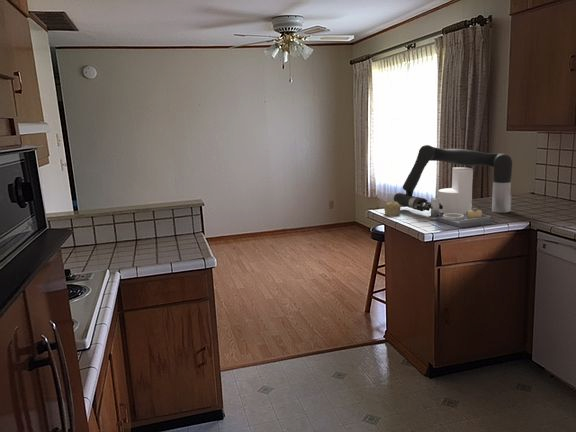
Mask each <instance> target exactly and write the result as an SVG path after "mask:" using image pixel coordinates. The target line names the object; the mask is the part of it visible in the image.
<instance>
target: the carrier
mask: <svg viewBox="0 0 576 432" xmlns="http://www.w3.org/2000/svg"><path fill="white" fill-rule="evenodd" d="M438 222H441V223H444V224H447V225H452V226H455V227H457V228H465V227H474V226H479V225H486V224H487V225H488V224H492V222H493V215H487V214H484V213H483V211H482V210H481V209H478V207H472V208H471V210H468V211H467V213H466V214H457V213H448V214H443V213H442V216H441V217H438Z"/></svg>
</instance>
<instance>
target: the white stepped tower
mask: <svg viewBox="0 0 576 432" xmlns="http://www.w3.org/2000/svg"><path fill="white" fill-rule="evenodd" d="M451 170H452V171H451V172H452V173H451V175H452V176H451V187H448V188H447V187H446V188H440V189H438V191H437V192H438V193H437V195H438V196H437V198H438V199H439V203H441V205H443V209H439V214H442V215H443V214H448V213H457V214H466V213H467V211H468V210H472V208H473V207H472V206H473V205H472V202H473V201H472V200H473V179H474V178H473V176H474V175H473V173H474V168H470V167H461V166H460V167H457V166H456V167H452V169H451Z"/></svg>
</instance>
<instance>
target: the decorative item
mask: <svg viewBox="0 0 576 432" xmlns="http://www.w3.org/2000/svg"><path fill="white" fill-rule="evenodd" d="M401 208H402V206H401V205H400V204H399V203H398V202H396V201H394V200H393V201H388V202H386V203H385V205H384V208H383V209H384V215H385V216H389V217H390V216H391V217H395V216H396V217H397V216H399V215H400V213H401V212H400V211H401Z"/></svg>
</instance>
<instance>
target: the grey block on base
mask: <svg viewBox="0 0 576 432" xmlns="http://www.w3.org/2000/svg"><path fill="white" fill-rule="evenodd" d="M430 202H431V209H430V215H428V220H429V221H432V222H433V221H434V222H437V221H438V217H442V216H441V215H440V212H439V199H438V197H437V198H436V197H435V198H433V197H432V198H431V199H430ZM438 222H439V221H438Z"/></svg>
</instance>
